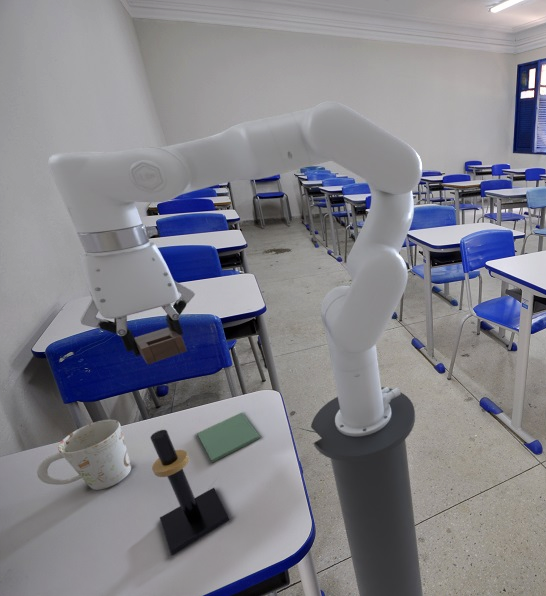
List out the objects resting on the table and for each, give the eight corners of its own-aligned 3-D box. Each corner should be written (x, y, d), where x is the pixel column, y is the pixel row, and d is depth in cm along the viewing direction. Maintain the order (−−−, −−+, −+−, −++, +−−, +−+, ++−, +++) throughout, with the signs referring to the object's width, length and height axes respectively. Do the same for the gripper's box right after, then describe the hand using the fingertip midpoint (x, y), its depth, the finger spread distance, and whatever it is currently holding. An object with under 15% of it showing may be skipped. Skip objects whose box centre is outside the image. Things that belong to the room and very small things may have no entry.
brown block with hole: (187, 351, 57) (181, 335, 57) (147, 364, 54) (140, 349, 54) (173, 340, 66) (168, 327, 65) (138, 351, 63) (132, 338, 62)
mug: (137, 480, 70) (116, 438, 66) (44, 517, 63) (15, 472, 59) (140, 453, 76) (122, 413, 72) (56, 483, 70) (31, 442, 66)
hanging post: (215, 491, 67) (184, 409, 60) (229, 519, 61) (197, 433, 55) (161, 521, 61) (120, 435, 55) (171, 555, 56) (127, 464, 49)
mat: (242, 414, 86) (241, 412, 86) (260, 437, 79) (259, 435, 78) (197, 435, 80) (197, 433, 80) (212, 462, 73) (211, 460, 73)
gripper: (176, 227, 64) (207, 322, 71) (35, 249, 53) (88, 360, 60) (187, 232, 59) (220, 334, 66) (35, 257, 48) (93, 377, 55)
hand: (157, 345), depth 63 cm, fingers closed on brown block with hole, 5 cm apart
